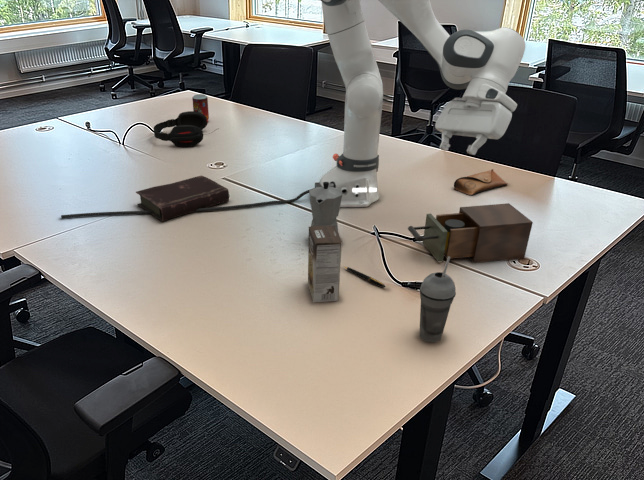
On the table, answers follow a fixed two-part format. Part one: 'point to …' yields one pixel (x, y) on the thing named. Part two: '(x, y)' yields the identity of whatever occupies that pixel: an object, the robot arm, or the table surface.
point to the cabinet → (499, 232)
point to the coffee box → (324, 263)
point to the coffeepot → (325, 205)
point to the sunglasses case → (479, 182)
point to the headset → (183, 129)
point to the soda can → (201, 104)
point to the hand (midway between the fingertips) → (456, 151)
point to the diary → (182, 197)
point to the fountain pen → (366, 277)
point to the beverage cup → (435, 304)
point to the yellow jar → (452, 227)
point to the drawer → (436, 234)
